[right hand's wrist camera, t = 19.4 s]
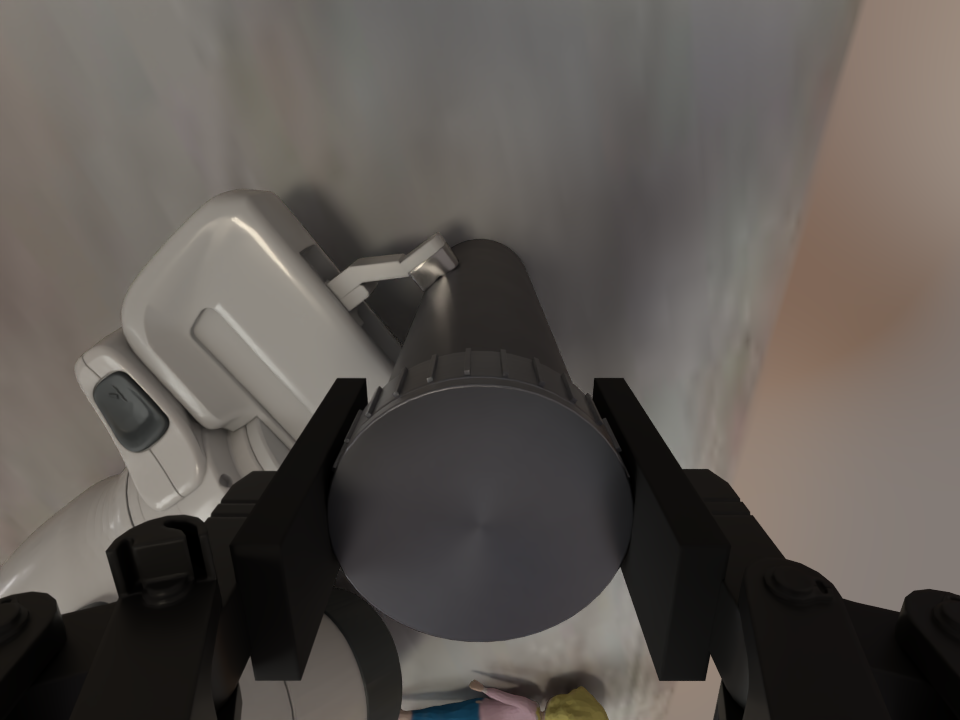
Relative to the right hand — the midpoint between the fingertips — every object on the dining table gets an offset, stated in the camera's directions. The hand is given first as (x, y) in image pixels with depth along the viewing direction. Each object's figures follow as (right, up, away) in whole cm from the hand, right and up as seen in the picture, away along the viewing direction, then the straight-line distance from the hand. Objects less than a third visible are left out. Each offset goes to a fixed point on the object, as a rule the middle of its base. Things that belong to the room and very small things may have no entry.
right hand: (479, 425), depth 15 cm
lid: (0, -1, -4) cm, 4 cm away
